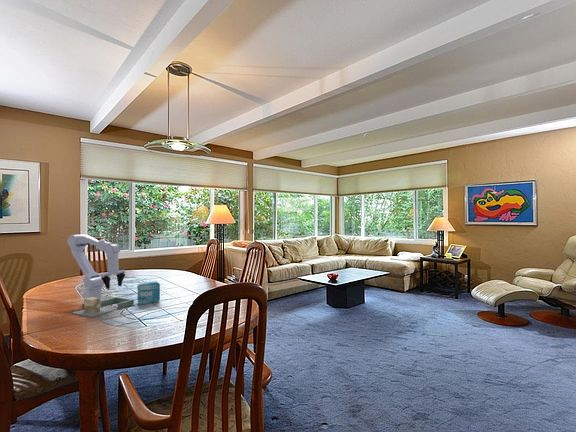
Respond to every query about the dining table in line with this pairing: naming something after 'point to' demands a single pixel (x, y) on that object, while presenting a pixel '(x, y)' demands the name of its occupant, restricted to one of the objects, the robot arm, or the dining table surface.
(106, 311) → the rubber mat
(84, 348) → the dining table surface
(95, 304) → the block
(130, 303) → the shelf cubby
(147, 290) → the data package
